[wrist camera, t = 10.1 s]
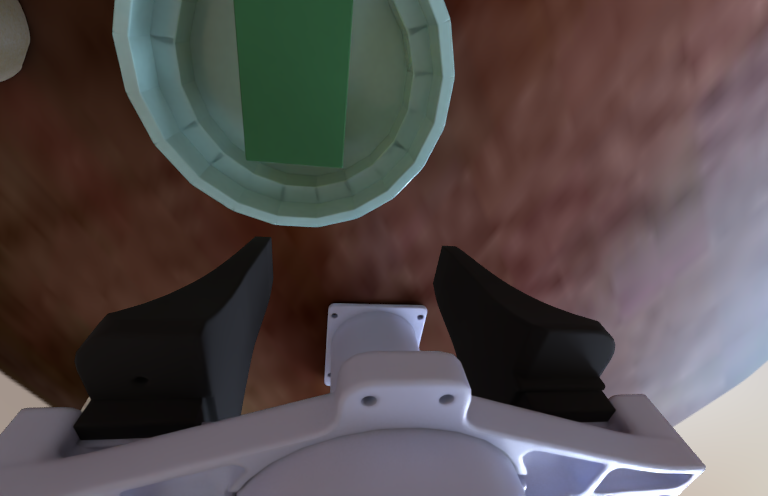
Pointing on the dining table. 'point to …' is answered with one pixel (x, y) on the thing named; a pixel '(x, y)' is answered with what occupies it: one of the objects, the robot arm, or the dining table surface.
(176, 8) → the bowl
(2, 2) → the flower pot
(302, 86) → the sponge
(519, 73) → the dining table surface
